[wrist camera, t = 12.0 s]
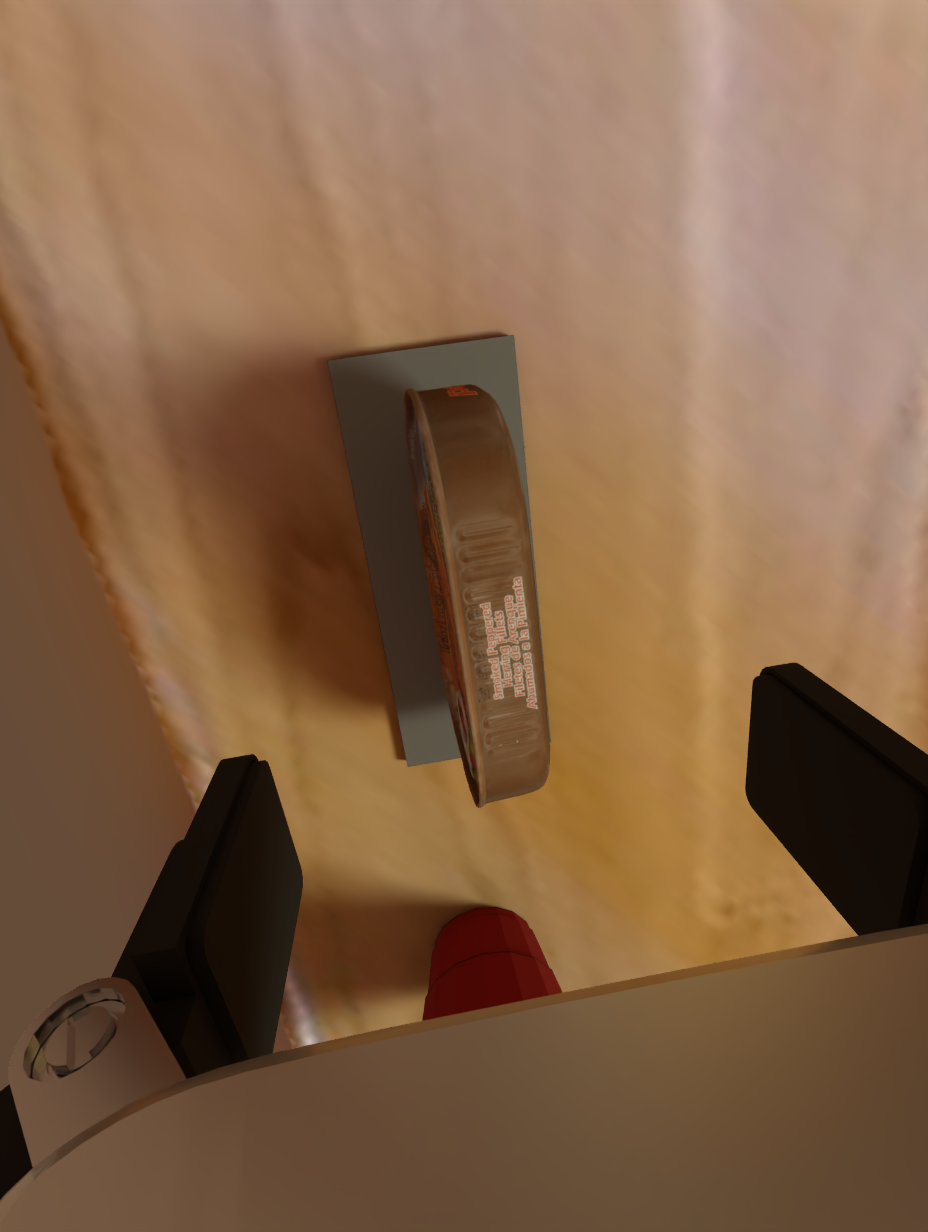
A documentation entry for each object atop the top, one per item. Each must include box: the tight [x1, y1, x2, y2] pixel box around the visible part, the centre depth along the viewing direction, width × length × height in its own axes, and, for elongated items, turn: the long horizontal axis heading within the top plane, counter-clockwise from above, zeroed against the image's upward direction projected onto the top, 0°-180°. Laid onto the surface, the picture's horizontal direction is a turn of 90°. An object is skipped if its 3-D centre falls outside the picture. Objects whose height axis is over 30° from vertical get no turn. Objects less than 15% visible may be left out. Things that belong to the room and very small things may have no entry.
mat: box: [327, 335, 551, 767], centre depth 25 cm, size 18×7×1 cm, turn 7°
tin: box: [404, 384, 550, 808], centre depth 21 cm, size 15×3×8 cm, turn 7°
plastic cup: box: [422, 908, 562, 1021], centre depth 28 cm, size 11×11×12 cm
